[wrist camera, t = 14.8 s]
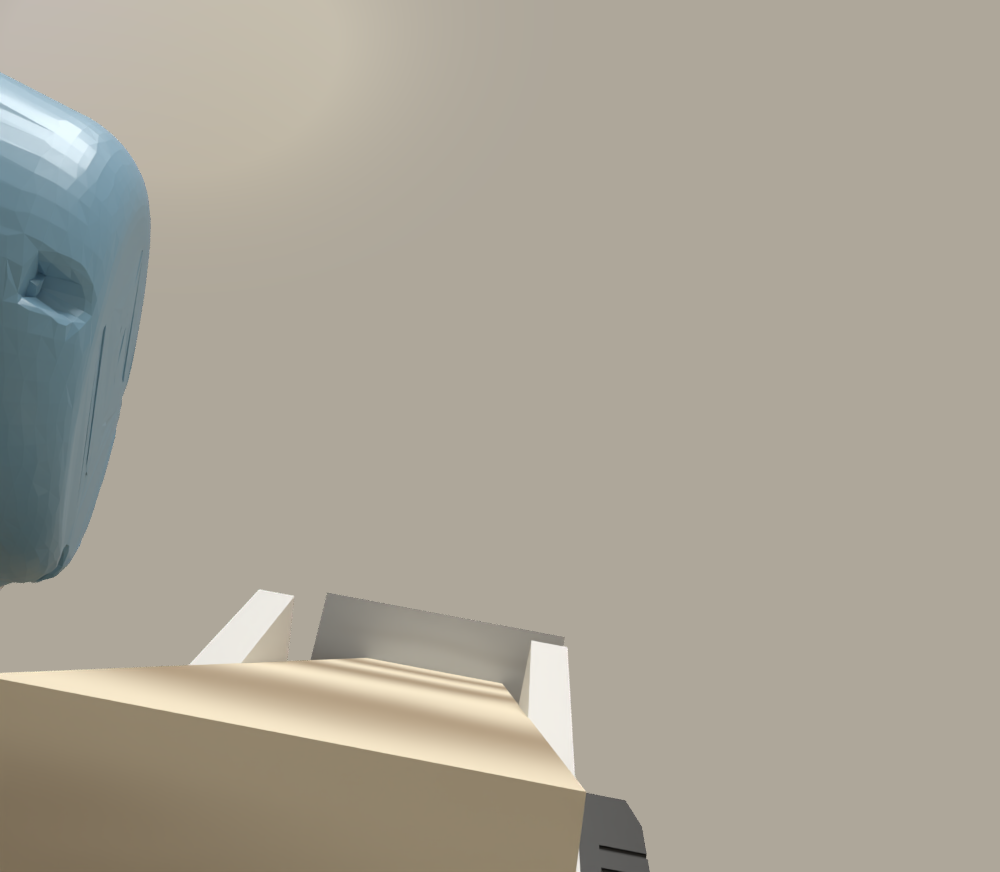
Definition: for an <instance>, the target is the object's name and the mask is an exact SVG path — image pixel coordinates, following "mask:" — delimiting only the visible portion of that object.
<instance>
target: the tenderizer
mask: <svg viewBox="0 0 1000 872" xmlns="http://www.w3.org/2000/svg"><path fill="white" fill-rule="evenodd" d="M531 640H532V641H537V642H542V643H548V644H553V645H558V646H563V644H564V637H561V636H555V635H550V634H544V633H539V632H534V631H529V630H523V629H518V628H513V627H507V626H502V625H496V624H491V623H486V622H481V621H475V620H470V619H465V618H459V617H454V616H448V615H443V614H438V613H433V612H427V611H422V610H417V609H411V608H406V607H400V606H395V605H390V604H385V603H379V602H374V601H369V600H363V599H358V598H353V597H347V596H341V595H336V594H331V593H327V596H326V600H325V604H324V608H323V612H322V616H321V621H320V625H319V628H318V632H317V636H316V641H315V645H314V649H313V653H312V657H311V660H303V661H282V662H259V663H231V664H207V665H184V666H159V667H138V668H137V667H136V668H135V667H134V668H110V669H86V670H63V671H38V672H14V673H0V872H576V867H577V860H578V852H579V844H580V837H581V829H582V821H583V813H584V806H585V798H586V791H585V790H584V788H583V787H582V786H581V785H580V783H579V782H578V781H577V779H576V778H575V777H574V775H573V774H572V773H571V772H570V770H569V769H568V768H567V766H566V765H565V764H564V763H563V761H562V760H561V759H560V757H559V756H558V755H557V754H556V752H555V751H554V750H553V748H552V747H551V746H550V745H549V743H548V742H547V741H546V739H545V738H544V737H543V736H542V734H541V733H540V732H539V730H538V729H537V728H536V727H535V725H534V724H533V723H532V721H531V720H530V719H529V718H528V717H527V716H526V715H525V713H524V712H523V711H522V709H521V708H520V707H519V700H520V695H521V690H522V685H523V680H524V675H525V670H526V665H527V660H528V655H529V650H530V645H531Z"/></svg>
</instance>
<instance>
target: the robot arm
mask: <svg viewBox="0 0 1000 872" xmlns="http://www.w3.org/2000/svg"><path fill="white" fill-rule="evenodd" d="M149 249H150V212H149V201H148V195H147V191H146V187H145V183H144V181H143V178H142V175H141V173H140V172H139V170H138V168H137V166H136V164H135V162H134V160H133V159H132V157H131V156H130V154H129V153H128V151H127V150H126V149H125V148H124V146H123V145H122V144H121V143H120V142H119V141H118V140H117V139H116V138H115V137H114V136H113V135H112V134H111V133H110V132H109V131H107V130H106V129H105V128H104V127H102V126H101V125H100V124H98V123H97V122H95V121H93V120H92V119H91V118H89V117H87V116H85V115H82V114H80V113H78V112H77V111H75V110H73V109H71V108H69V107H67V106H65V105H63V104H61V103H59V102H57V101H55V100H53V99H51V98H49V97H47V96H46V95H44V94H42V93H40V92H38V91H35V90H34V89H32V88H30V87H28V86H26V85H24V84H22V83H20V82H18V81H16V80H14V79H12V78H11V77H9V76H7V75H5V74H3V73H1V72H0V590H1V589H2V588H3V587H4V585H7V584H9V583H12V582H17V583H25V582H33V583H35V582H40V581H42V580H45V579H49V578H52V577H55V576H56V575H58V574H59V573H60V572H61V571H62V570H63V569H64V568H65V567H66V566H67V565H68V564H69V563H70V561H71V560H72V558H73V556H74V554H75V553H76V551H77V549H78V547H79V546H80V543H81V540H82V538H83V536H84V533H85V531H86V529H87V527H88V524H89V522H90V519H91V516H92V513H93V510H94V507H95V503H96V500H97V497H98V493H99V490H100V487H101V484H102V482H103V479H104V475H105V472H106V469H107V465H108V461H109V457H110V454H111V450H112V446H113V443H114V439H115V433H116V426H117V422H118V419H119V414H120V409H121V404H122V396H123V394H124V391H125V388H126V385H127V382H128V379H129V374H130V370H131V366H132V361H133V356H134V351H135V346H136V340H137V335H138V330H139V324H140V318H141V312H142V306H143V299H144V292H145V284H146V277H147V268H148V259H149ZM293 605H294V596H292V595H286V594H281V593H276V592H271V591H265V590H260V589H259V590H258V591H257V592H256V593H255V594H254V596H253V597H252V598H251V599H250V600H249V601H248V602H247V603H246V604H245V605H244V606H243V607H242V608H241V609H240V611H239V612H238V613H237V614H236V615H235V616H234V617H233V618H232V619H231V620H230V621H229V623H228V624H227V625H226V626H225V627H224V628H223V629H222V630H221V631H220V632H219V633H218V634H217V635H216V637H215V638H214V639H213V640H212V641H211V642H210V643H209V644H208V645H207V646H206V647H205V648H204V649H203V650H202V652H201V653H200V654H199V655H198V656H197V657H196V658H195V659H194V660H193V661H192V662H191V663H190V664H189V665H207V664H231V663H259V662H282V661H287V657H288V649H289V640H290V631H291V623H292V614H293ZM519 707H520V708H521V709H522V711H523V712H524V713H525V715H526V716H527V717H528V718H529V719H530V720H531V721H532V723H533V724H534V725H535V727H536V728H537V729H538V730H539V732H540V733H541V734H542V736H543V737H544V738H545V739H546V741H547V742H548V743H549V745H550V746H551V747H552V748H553V750H554V751H555V752H556V754H557V755H558V756H559V757H560V759H561V760H562V761H563V763H564V764H565V765H566V766H567V768H568V769H569V770H570V772H571V773H572V774H573V775H574V777H575V771H574V755H573V735H572V719H571V700H570V685H569V666H568V650H567V647H563V646H558V645H553V644H548V643H542V642H537V641H532V640H531V645H530V650H529V655H528V660H527V665H526V670H525V675H524V680H523V685H522V690H521V695H520V700H519ZM576 872H650V871H649V866H648V860H647V859H646V849H645V843H644V837H643V831H642V826H641V825H640V823H639V822H638V820H637V818H636V817H635V815H634V814H633V812H632V810H631V809H630V807H629V806H628V804H627V803H626V801H625V800H620V799H615V798H609V797H605V796H599V795H594V794H589V793H586V798H585V806H584V813H583V821H582V829H581V837H580V844H579V852H578V860H577V867H576Z"/></svg>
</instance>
